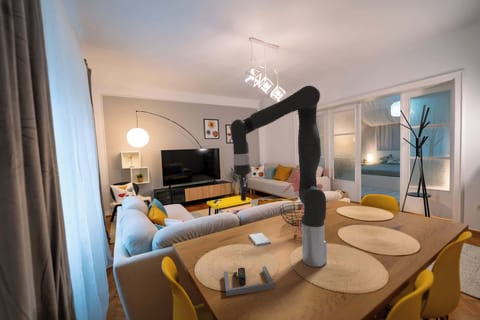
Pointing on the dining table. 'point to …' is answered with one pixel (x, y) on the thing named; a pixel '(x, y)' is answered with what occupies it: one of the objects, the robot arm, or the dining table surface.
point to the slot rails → (249, 288)
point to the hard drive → (259, 239)
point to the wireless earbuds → (241, 276)
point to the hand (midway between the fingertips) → (243, 200)
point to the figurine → (296, 189)
